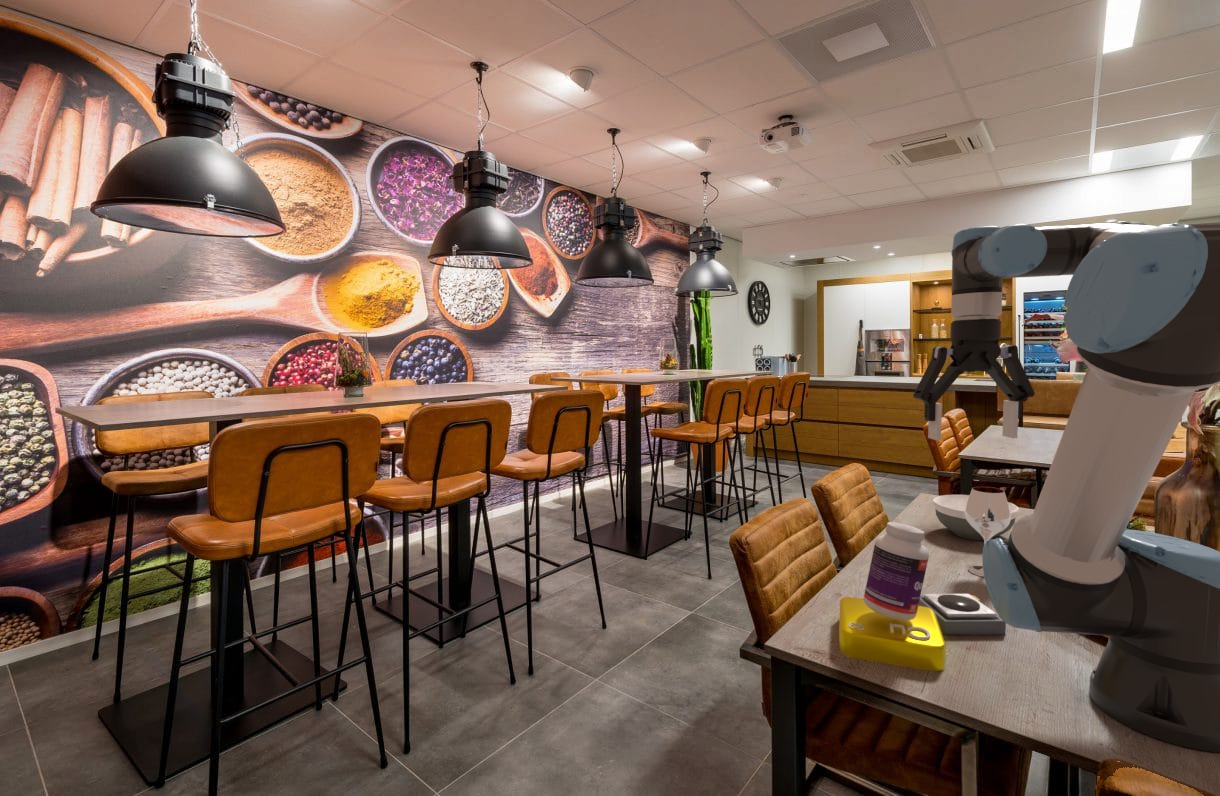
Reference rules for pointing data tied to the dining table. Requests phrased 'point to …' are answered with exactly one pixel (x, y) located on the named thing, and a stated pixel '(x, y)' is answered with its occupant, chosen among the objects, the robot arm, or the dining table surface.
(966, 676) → the dining table surface
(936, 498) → the bowl
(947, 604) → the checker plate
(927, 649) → the element tile
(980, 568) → the wineglass
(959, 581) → the dining table surface
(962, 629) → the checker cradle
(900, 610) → the pill bottle
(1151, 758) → the dining table surface
